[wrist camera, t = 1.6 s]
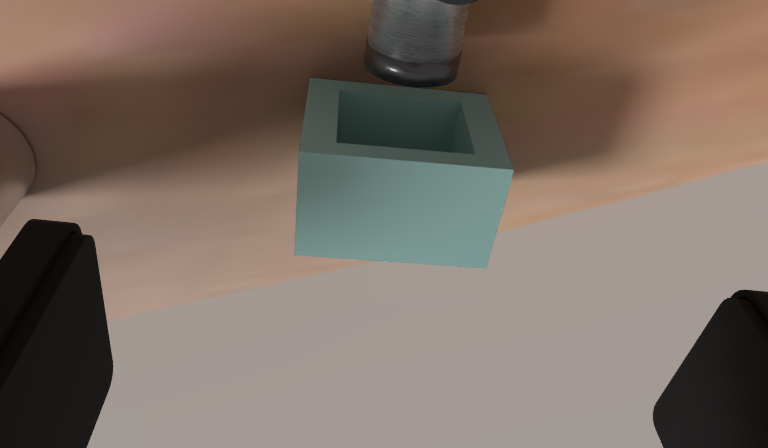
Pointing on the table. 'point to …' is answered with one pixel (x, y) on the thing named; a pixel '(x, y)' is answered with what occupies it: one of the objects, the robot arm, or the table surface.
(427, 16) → the slip tube
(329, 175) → the socket block
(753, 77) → the table surface
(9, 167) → the grey cylinder
